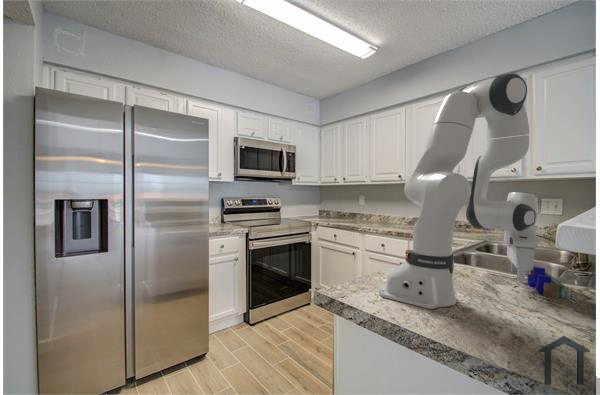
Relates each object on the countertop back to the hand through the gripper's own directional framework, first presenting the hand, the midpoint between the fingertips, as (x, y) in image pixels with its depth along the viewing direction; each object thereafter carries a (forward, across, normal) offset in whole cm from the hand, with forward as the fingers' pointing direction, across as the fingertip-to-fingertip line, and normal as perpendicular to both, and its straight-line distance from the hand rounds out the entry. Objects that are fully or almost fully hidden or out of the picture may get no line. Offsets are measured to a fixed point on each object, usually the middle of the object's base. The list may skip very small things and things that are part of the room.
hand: (517, 277), depth 100 cm
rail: (+3, -1, +8) cm, 8 cm away
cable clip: (+3, 0, +6) cm, 7 cm away
